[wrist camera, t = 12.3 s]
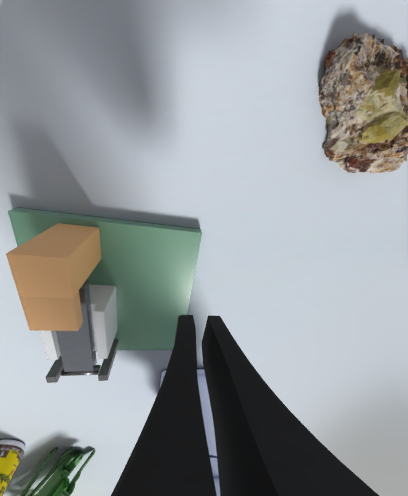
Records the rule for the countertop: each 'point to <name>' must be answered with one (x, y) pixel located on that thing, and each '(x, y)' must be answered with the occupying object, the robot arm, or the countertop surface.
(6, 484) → the supplement bottle
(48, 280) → the orange l-shaped block
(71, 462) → the daffodil flowers
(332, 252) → the countertop surface
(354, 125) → the mineral rock
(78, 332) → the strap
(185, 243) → the board
